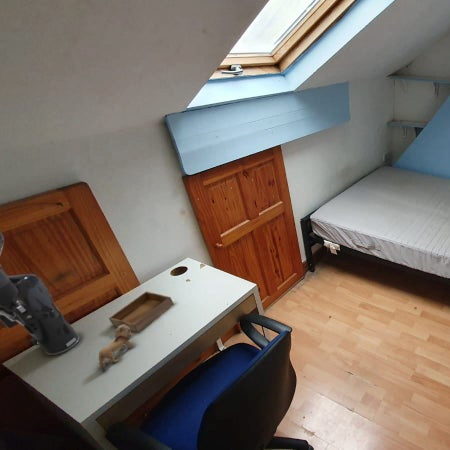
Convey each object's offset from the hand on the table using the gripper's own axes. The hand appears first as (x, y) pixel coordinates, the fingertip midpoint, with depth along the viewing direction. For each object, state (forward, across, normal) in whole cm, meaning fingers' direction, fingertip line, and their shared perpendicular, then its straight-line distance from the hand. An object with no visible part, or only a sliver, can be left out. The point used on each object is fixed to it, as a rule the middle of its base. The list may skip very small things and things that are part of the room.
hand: (24, 328), depth 87 cm
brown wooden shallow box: (+30, +9, -32) cm, 44 cm away
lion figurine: (+30, 0, -14) cm, 33 cm away
